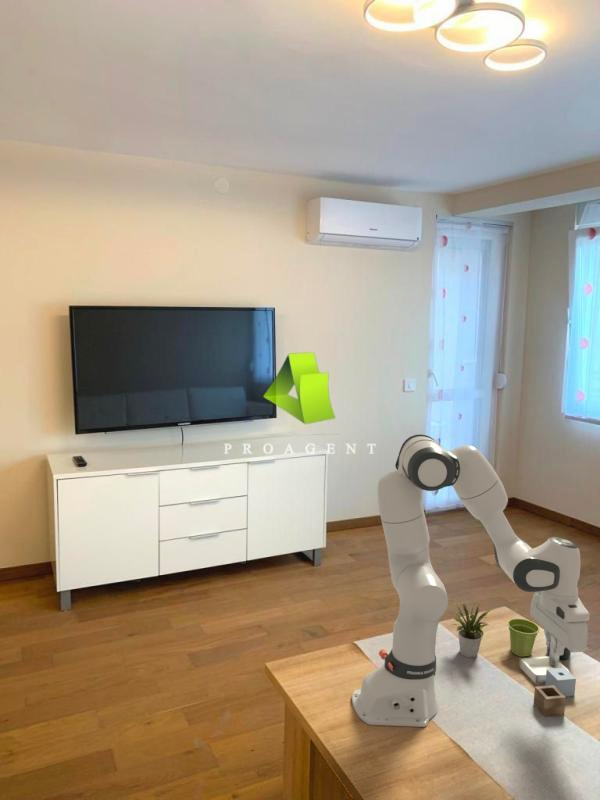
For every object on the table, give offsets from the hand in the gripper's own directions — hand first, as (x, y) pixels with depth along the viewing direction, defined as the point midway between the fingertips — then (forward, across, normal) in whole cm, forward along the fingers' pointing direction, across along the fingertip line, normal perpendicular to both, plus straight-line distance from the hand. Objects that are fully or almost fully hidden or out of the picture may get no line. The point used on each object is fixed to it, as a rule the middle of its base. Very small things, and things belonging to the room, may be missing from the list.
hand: (554, 650), depth 165 cm
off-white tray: (+17, -16, +8) cm, 25 cm away
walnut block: (+17, 0, 0) cm, 17 cm away
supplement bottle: (+17, -24, +18) cm, 35 cm away
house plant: (+17, -30, -10) cm, 36 cm away
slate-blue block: (+17, -8, +8) cm, 20 cm away
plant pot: (+17, -28, +8) cm, 34 cm away
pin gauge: (+4, 0, 0) cm, 4 cm away
